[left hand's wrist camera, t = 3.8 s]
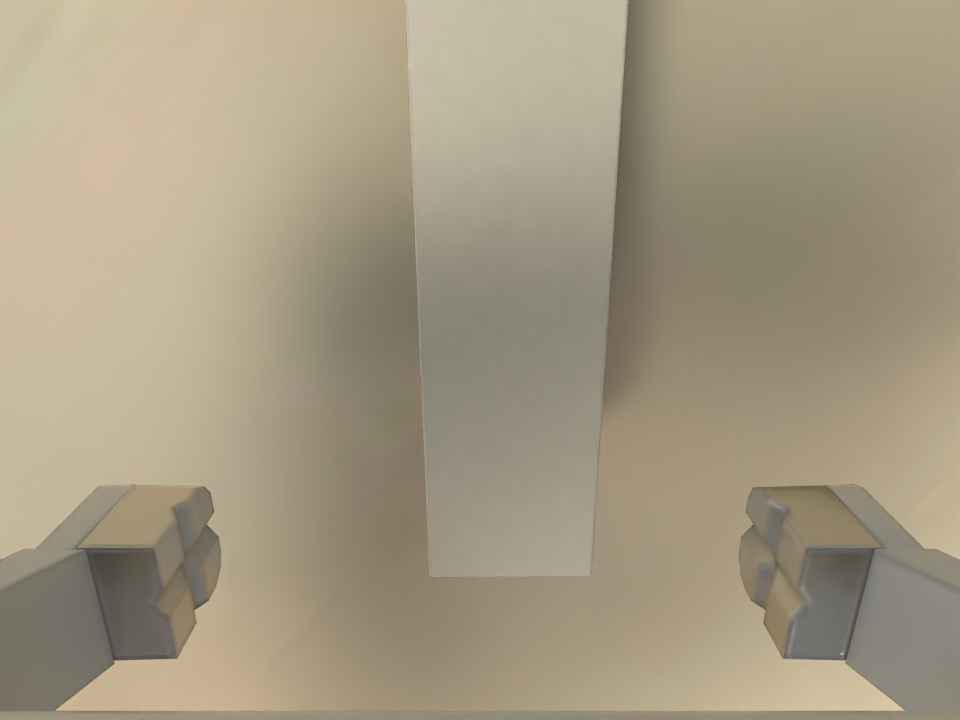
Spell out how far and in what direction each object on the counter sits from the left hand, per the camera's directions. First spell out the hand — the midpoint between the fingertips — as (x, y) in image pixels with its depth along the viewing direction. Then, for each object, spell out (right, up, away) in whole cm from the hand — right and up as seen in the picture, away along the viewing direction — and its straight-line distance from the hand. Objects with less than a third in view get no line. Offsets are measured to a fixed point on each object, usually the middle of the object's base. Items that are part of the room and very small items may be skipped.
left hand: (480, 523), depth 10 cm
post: (0, +37, 0) cm, 37 cm away
